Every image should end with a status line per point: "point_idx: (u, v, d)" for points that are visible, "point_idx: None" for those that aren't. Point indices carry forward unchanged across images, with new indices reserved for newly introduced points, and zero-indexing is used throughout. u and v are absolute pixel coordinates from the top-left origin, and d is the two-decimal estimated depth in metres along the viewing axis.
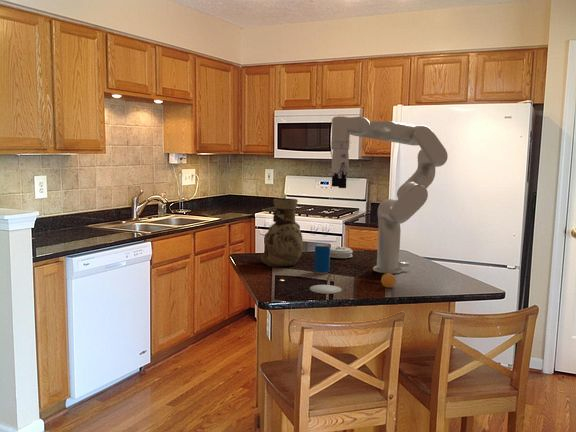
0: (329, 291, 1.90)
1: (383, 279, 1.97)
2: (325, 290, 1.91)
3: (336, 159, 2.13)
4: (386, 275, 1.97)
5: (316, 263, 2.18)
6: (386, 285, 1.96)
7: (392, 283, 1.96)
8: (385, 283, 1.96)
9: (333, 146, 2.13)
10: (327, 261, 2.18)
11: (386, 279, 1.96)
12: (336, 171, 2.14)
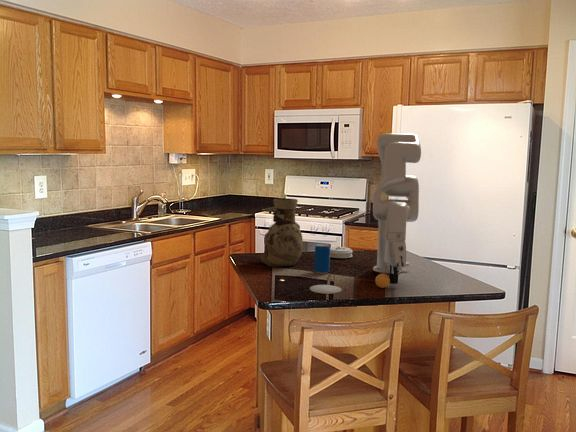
0: (329, 291, 1.90)
1: (377, 283, 1.96)
2: (325, 290, 1.91)
3: (392, 251, 1.94)
4: (378, 278, 1.96)
5: (316, 263, 2.18)
6: (383, 287, 1.96)
7: (387, 282, 1.95)
8: (380, 286, 1.96)
9: (389, 237, 1.94)
10: (327, 261, 2.18)
11: (379, 282, 1.95)
12: (392, 264, 1.94)
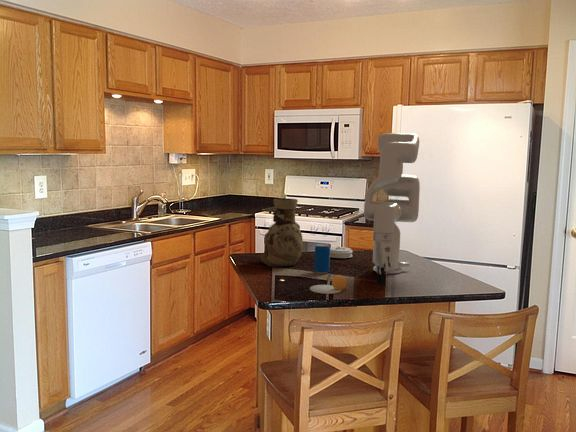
0: (329, 291, 1.90)
1: (334, 286, 1.92)
2: (325, 290, 1.91)
3: (379, 252, 1.93)
4: (333, 281, 1.91)
5: (316, 263, 2.18)
6: (340, 289, 1.92)
7: (343, 284, 1.91)
8: (337, 288, 1.91)
9: (376, 237, 1.93)
10: (327, 261, 2.18)
11: (336, 285, 1.91)
12: (379, 265, 1.94)
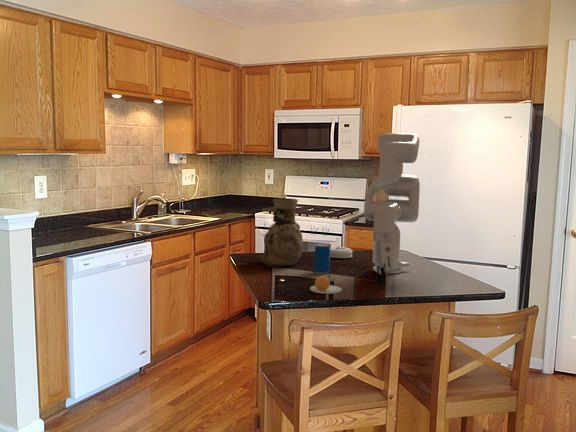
0: (329, 291, 1.90)
1: None
2: (325, 290, 1.91)
3: (379, 252, 1.93)
4: None
5: (316, 263, 2.18)
6: (327, 280, 1.90)
7: (323, 283, 1.88)
8: (329, 282, 1.90)
9: (376, 237, 1.93)
10: (327, 261, 2.18)
11: (328, 286, 1.90)
12: (379, 265, 1.94)
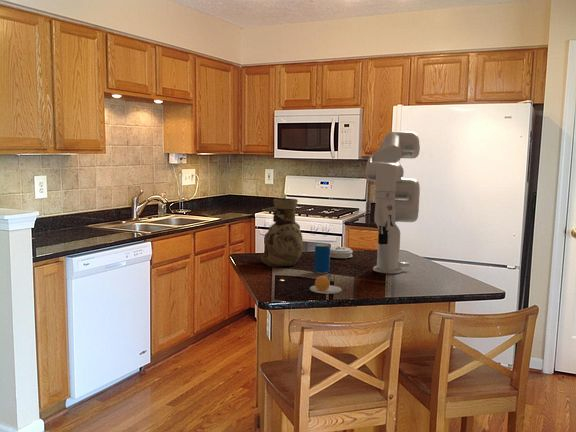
0: (329, 291, 1.90)
1: None
2: (325, 290, 1.91)
3: (381, 211, 1.91)
4: None
5: (316, 263, 2.18)
6: (327, 280, 1.90)
7: (323, 283, 1.88)
8: (329, 282, 1.90)
9: (378, 196, 1.91)
10: (327, 261, 2.18)
11: (328, 286, 1.90)
12: (381, 224, 1.92)
